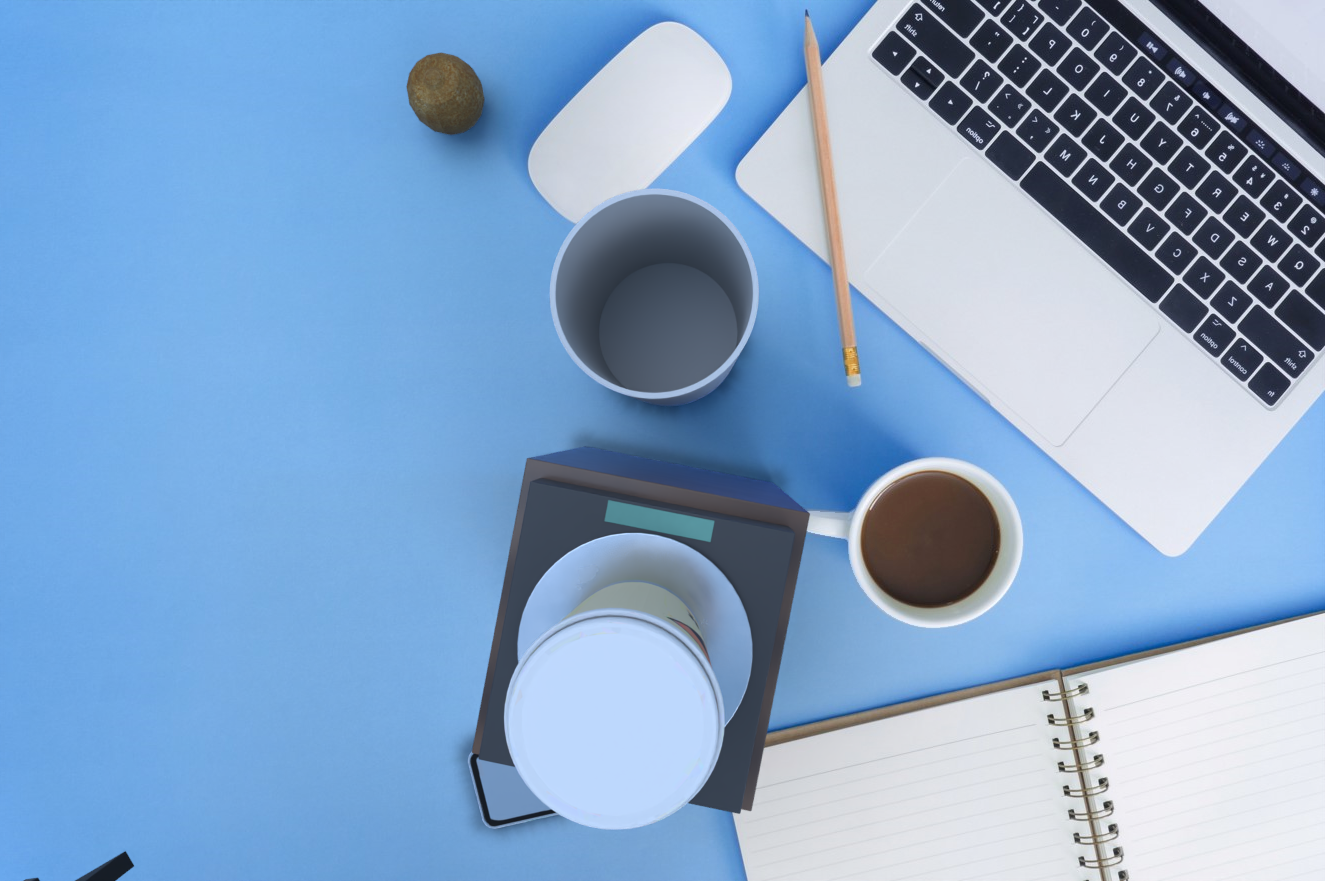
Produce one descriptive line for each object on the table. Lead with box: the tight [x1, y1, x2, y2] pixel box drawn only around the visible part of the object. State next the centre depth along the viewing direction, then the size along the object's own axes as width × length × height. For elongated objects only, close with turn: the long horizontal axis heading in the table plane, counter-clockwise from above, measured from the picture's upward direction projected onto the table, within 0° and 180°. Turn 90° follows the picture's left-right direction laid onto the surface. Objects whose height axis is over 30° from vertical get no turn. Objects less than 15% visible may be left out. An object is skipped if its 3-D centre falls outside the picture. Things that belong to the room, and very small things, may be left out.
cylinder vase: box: [549, 188, 760, 407], centre depth 65 cm, size 12×12×25 cm
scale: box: [479, 478, 795, 815], centre depth 50 cm, size 16×15×3 cm
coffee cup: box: [504, 582, 725, 831], centre depth 42 cm, size 9×9×12 cm
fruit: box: [405, 52, 486, 136], centre depth 74 cm, size 6×6×8 cm
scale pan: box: [517, 532, 753, 728], centre depth 49 cm, size 13×13×1 cm
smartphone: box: [467, 751, 560, 830], centre depth 78 cm, size 7×1×15 cm
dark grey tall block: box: [471, 445, 811, 812], centre depth 65 cm, size 18×17×26 cm
